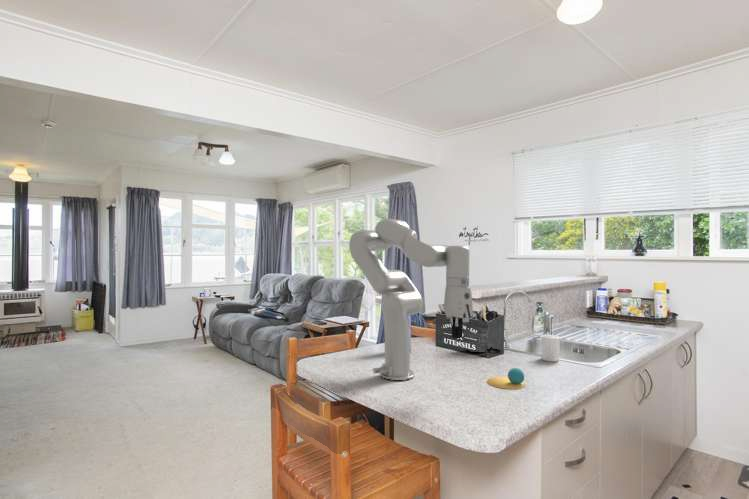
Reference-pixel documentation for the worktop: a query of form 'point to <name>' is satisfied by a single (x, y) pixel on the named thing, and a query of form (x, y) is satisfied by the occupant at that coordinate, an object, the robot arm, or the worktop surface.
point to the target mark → (504, 383)
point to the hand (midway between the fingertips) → (457, 337)
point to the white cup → (550, 347)
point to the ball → (516, 376)
